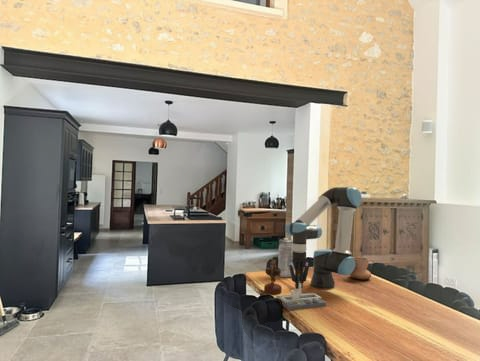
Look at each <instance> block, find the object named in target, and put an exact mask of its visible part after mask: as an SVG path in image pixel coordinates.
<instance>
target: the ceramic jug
mask: <svg viewBox="0 0 480 361" xmlns="http://www.w3.org/2000/svg"><path fill="white" fill-rule="evenodd" d="M352 257H353V258H354V261H355V267H354V270H353V271H352V272H351V274H349V276H350V277H351V278H353V279H355V280H361V281H366V280H369V279H371V277H372V272H370V271H369V270H368V269H367V268H368V267H369V264H370V265H371V264H372V262H371V261H370V258H368V257H365V256H362V257H361V256H352Z"/></svg>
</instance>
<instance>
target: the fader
mask: <svg viewBox="0 0 480 361" xmlns="http://www.w3.org/2000/svg"><path fill="white" fill-rule="evenodd" d="M290 295H291V299H299V291H297V289H291V290H290Z"/></svg>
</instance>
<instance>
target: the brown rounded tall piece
mask: <svg viewBox="0 0 480 361" xmlns="http://www.w3.org/2000/svg"><path fill="white" fill-rule="evenodd" d="M276 265H277V260H276V259H274V258H273V259H272V260H271V261H270V263H269V266H268V267H266V268H265V273H266V275H268V276H269V277H270V279H269V280H270V283H266V284H265V285H264V288H263V292H264V293H265V294H267V295H274V296H275V295H276V296H278V295H280V294H282V289H283V288H282V285H281V284H279V283H275V282H276V278H275V277H277V276H280V273H281V270H280V268H278V266H276Z"/></svg>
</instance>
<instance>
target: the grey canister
mask: <svg viewBox="0 0 480 361" xmlns="http://www.w3.org/2000/svg"><path fill="white" fill-rule="evenodd" d="M292 248H293V239H288V237H284V238H283V239H279V240H278V255H277V256H278V257H277V258H278V264H277V268H280V270H281V273H280V275H279V276H280V278H291V273H290V268H289V267H288V264H291V263H292V260H293V258H292V252H293V250H292ZM293 269H294V270H295V267H294V265H293Z"/></svg>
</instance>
